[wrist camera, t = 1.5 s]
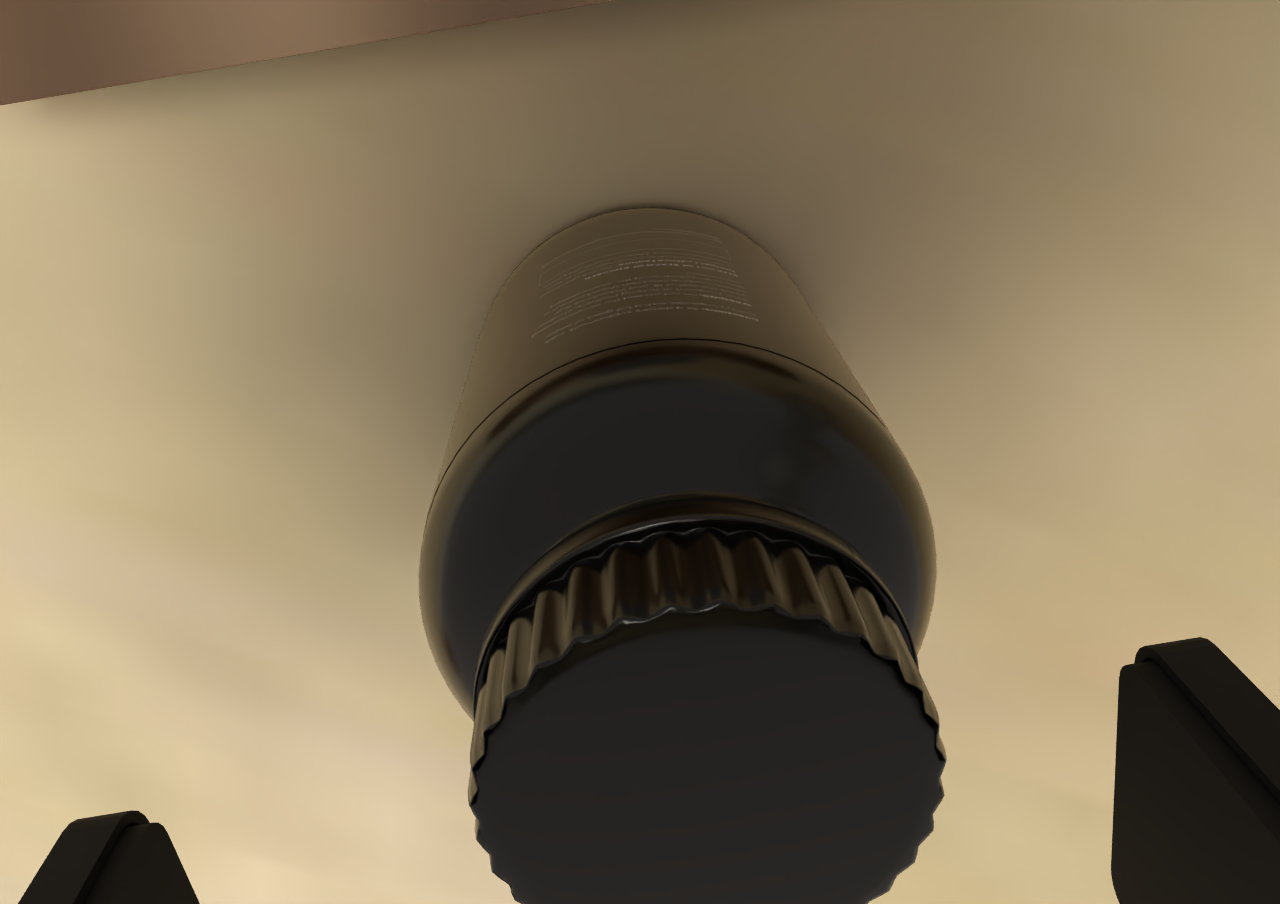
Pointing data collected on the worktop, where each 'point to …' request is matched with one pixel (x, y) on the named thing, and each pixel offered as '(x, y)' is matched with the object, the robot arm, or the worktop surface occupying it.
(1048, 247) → the worktop surface
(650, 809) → the supplement bottle
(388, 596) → the worktop surface
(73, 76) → the walnut rail
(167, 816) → the worktop surface
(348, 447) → the worktop surface
